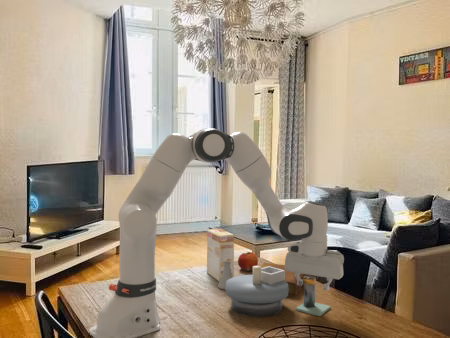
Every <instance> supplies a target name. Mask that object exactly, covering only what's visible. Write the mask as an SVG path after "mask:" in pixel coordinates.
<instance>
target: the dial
mask: <svg viewBox="0 0 450 338" xmlns="http://www.w3.org/2000/svg"><path fill="white" fill-rule="evenodd" d="M261 266H262V265H257V266H253V270H252V274H253V275H252V274H242V275H236V276H234V277H233V278H230V279H229V280H227V281H226V290H225V294H226V296H227V297H229V298H230V299H231V298H232V299H234V300H237V301H241V302H247V303H272V302H277V301H280V300H282V301H283V300H285V299H286V298H288V296H289V295H288V283H287V282H286V281H284V280H285V270H281V269H278V268H274V267H270V266H268V267H264V268H261Z"/></svg>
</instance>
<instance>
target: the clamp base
mask: <svg viewBox="0 0 450 338" xmlns="http://www.w3.org/2000/svg"><path fill="white" fill-rule="evenodd" d="M230 303H231V304H230V306H231V307H230V308H231V309H232V311H233V312H235V313H237V314H239V315H242V316H245V317H246V316H247V317H254V318H255V317H256V318H260V317H261V318H263V317H264V318H265V317H271V316H274V315H277V314H279V313H280V312H282V310H283V300H280V301H277V302H272V303H247V302H241V301H237V300H234V299H232V298H230Z"/></svg>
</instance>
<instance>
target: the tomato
mask: <svg viewBox="0 0 450 338" xmlns="http://www.w3.org/2000/svg"><path fill="white" fill-rule="evenodd" d="M258 259H259V258H258V256H257V255H256V254H255V253H254V252H252V251H251V252H250V251H247V252H243V253H241V254H240V255H239V257H238V260H237V265H238V267H239V268H241V269H242V270H244V271H247V272H249V271H252V272H253V266H258V262H259V260H258Z"/></svg>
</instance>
